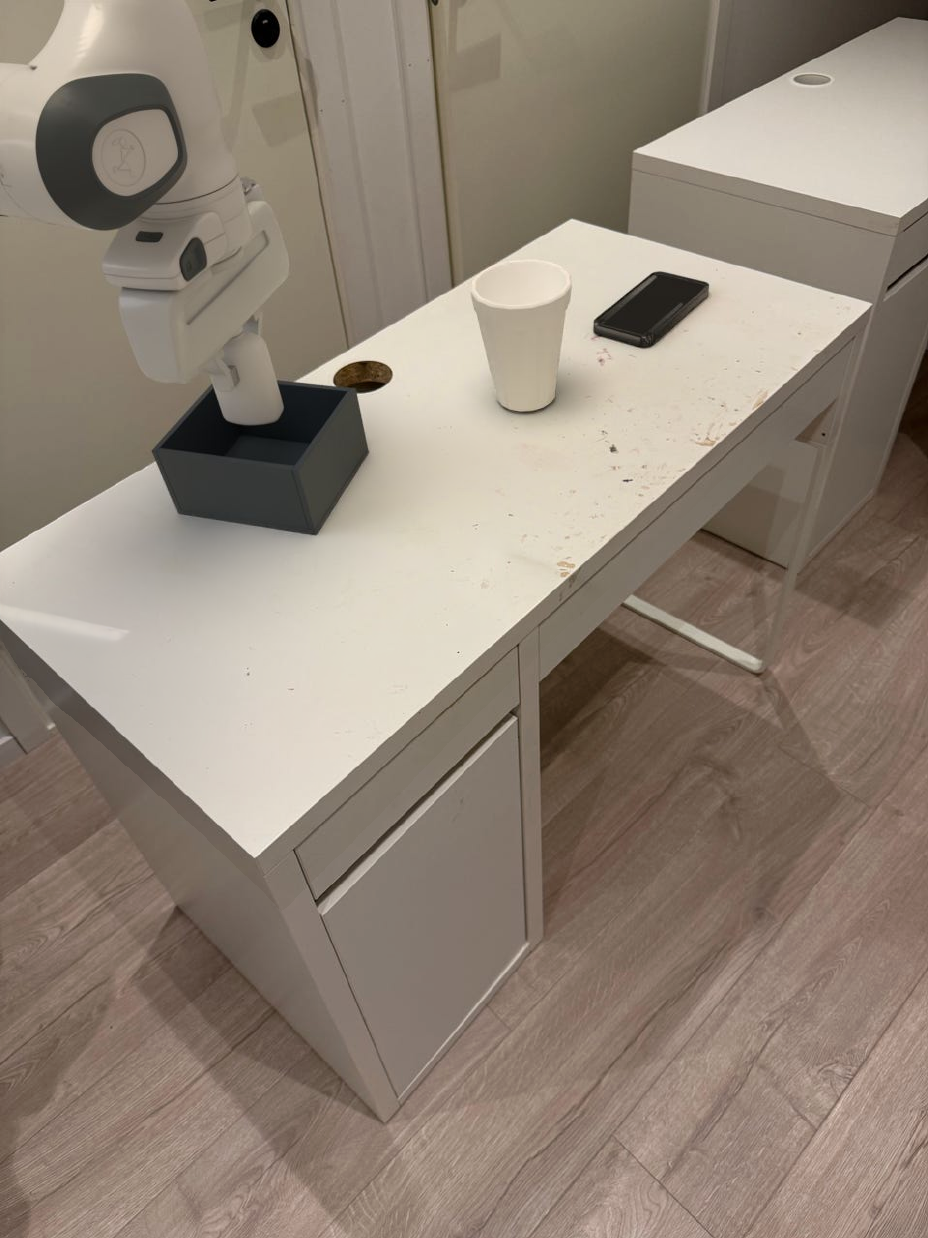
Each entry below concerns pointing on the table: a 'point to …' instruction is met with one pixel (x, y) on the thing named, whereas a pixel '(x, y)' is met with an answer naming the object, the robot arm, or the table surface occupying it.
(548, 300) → the cup
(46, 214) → the robot arm
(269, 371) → the eye dropper bottle
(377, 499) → the table surface
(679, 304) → the phone
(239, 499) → the bin
